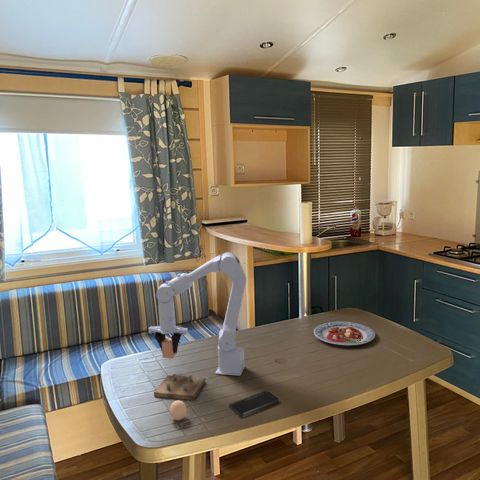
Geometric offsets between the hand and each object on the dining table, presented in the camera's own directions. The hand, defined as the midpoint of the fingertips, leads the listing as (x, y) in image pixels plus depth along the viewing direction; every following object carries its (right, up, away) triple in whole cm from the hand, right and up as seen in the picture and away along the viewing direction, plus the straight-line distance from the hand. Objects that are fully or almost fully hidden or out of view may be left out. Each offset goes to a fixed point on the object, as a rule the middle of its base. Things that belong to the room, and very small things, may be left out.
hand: (169, 351), depth 160 cm
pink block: (0, -1, 0) cm, 1 cm away
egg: (+7, -13, -28) cm, 32 cm away
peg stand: (+5, -10, -10) cm, 15 cm away
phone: (+31, -12, -22) cm, 39 cm away
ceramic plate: (+71, -1, +29) cm, 77 cm away
